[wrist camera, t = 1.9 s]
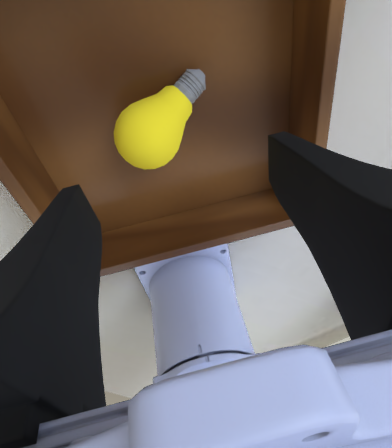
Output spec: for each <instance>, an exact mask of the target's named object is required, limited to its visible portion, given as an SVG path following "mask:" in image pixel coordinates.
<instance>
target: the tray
mask: <svg viewBox="0 0 392 448" xmlns="http://www.w3.org/2000/svg"><path fill="white" fill-rule="evenodd" d="M345 4H346V0H0V180H1V182H2V183H3V184H4V186H5V187H6V188H7V190H8V191H9V192H10V194H11V195H12V196H13V198H14V199H15V200H16V201H17V203H18V204H19V205H20V207H21V208H22V209H23V211H24V212H25V213H26V215H27V216H28V217H29V219H30V220H31V221H32V223H33V224H35V222H36V221H37V220H38V218H39V217H40V216H41V215H42V213H43V212H44V211H45V210H46V208H47V207H48V206H49V204H50V203H51V202H52V201H53V199H54V198H55V197H56V196H57V194H58V193H59V192H60V191H61V190H62V189H63V188H66V187H70V186H74V185H78V184H79V185H80V187H81V189H82V191H83V192H84V194H85V196H86V198H87V200H88V201H89V203H90V205H91V207H92V209H93V211H94V212H95V214H96V216H97V218H98V220H99V221H100V223H101V233H102V259H101V272H100V277H101V276H105V275H108V274H112V273H116V272H120V271H124V270H127V269H131V268H135V267H139V266H143V265H146V264H150V263H154V262H158V261H162V260H165V259H169V258H173V257H177V256H181V255H185V254H188V253H192V252H196V251H200V250H204V249H207V248H211V247H215V246H219V245H223V244H226V243H230V242H234V241H238V240H242V239H245V238H249V237H253V236H257V235H261V234H264V233H268V232H272V231H276V230H280V229H283V228H287V227H291V226H295V225H294V224H293V222H292V221H291V219H290V218H289V216H288V215H287V213H286V212H285V210H284V209H283V207H282V206H281V204H280V203H279V201H278V199H277V197H276V195H275V193H274V191H273V189H272V186H271V184H270V182H269V170H268V135H271V134H275V133H279V132H283V131H285V132H288V133H290V134H293V135H295V136H298V137H300V138H302V139H304V140H307V141H309V142H311V143H313V144H316V145H318V146H320V147H323V148H325V149H326V147H327V140H328V132H329V125H330V117H331V110H332V102H333V95H334V87H335V79H336V72H337V64H338V57H339V49H340V42H341V34H342V27H343V19H344V11H345ZM186 69H200V70H201V71H202V72H203V73H204V74H205V76H206V77H205V84H206V90H204V91H203V92H202V94H200V96H198V99H196V100H195V102H194V103H192V113H191V115H190V116H189V118H188V120H187V121H186V124H185V128H184V132H183V136H182V140H181V143H180V146H179V149H178V151H177V153H176V154H175V156H174V157H173V159H172V160H170V161H169V162H168V163H167V164H166V165H164V166H161V167H159V168H156V169H141V168H138V167H134V166H133V165H131V164H130V163H128V162H127V161H126V160H125V159H124V158H123V157H122V156H121V155H120V154H119V152H118V150H117V148H116V145H115V142H114V128H115V124H116V121H117V119H118V117H119V115H120V114H121V112H122V111H123V110H124V109H125V108H127V107H128V106H129V105H130V104H132V103H134V102H137V101H139V100H141V99H144V98H147V97H149V96H152V95H155V94H157V93H158V92H159V91H161V90H162V89H163V88H164V87H165V86H171V85H173V86H174V84H175V82H176V81H178V79H179V78H180V76H182V74H183V73H185V71H186Z"/></svg>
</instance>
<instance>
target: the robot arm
mask: <svg viewBox="0 0 392 448" xmlns="http://www.w3.org/2000/svg"><path fill="white" fill-rule="evenodd" d="M268 170H269V182H270V184H271V186H272V189H273V191H274V193H275V195H276V197H277V199H278V201H279V203H280V204H281V206H282V207H283V209H284V210H285V212H286V213H287V215H288V216H289V218H290V219H291V221H292V222H293V224H294V225H295V227H296V229H297V230H298V232H299V233H300V235H301V236H302V238H303V239H304V241H305V242H306V244H307V246H308V247H309V249H310V251H311V253H312V255H313V257H314V259H315V261H316V263H317V265H318V267H319V269H320V270H321V273H322V275H323V277H324V279H325V281H326V283H327V285H328V287H329V289H330V292H331V294H332V296H333V298H334V301H335V303H336V305H337V307H338V310H339V312H340V314H341V316H342V319H343V321H344V324H345V326H346V329H347V331H348V333H349V336H350V338H351V340H350V341H347V342H343V343H340V344H336V345H332V346H328V347H324V348H319V347H314V346H309V345H298V346H291V347H284V348H279V349H275V350H272V351H268V352H264V353H257V354H255V352H254V349H253V346H252V343H251V340H250V337H249V334H248V331H247V328H246V325H245V322H244V319H243V316H242V313H241V310H240V307H239V304H238V301H237V298H236V293H235V287H234V281H233V274H232V268H231V262H230V255H229V249H228V244H227V243H226V244H223V245H219V246H215V247H211V248H207V249H204V250H200V251H196V252H192V253H188V254H185V255H181V256H177V257H173V258H169V259H165V260H162V261H158V262H154V263H150V264H146V265H143V266H139V267H135V268H134V269H135V272H136V274H137V276H138V278H139V279H140V281H141V283H142V285H143V287H144V289H145V291H146V293H147V295H148V297H149V299H150V301H151V308H152V319H153V330H154V341H155V352H156V363H157V374H158V376H156V377H154V378H153V384H151V385H149V386H146V387H144V388H143V389H142V390H141V391H140V392H139V393H137V394H136V395H135V396H134V397H133V398H132V399H130V400H127V401H123V402H119V403H116V404H112V405H108V406H106V402H105V394H104V385H103V374H102V363H101V352H100V336H99V314H98V298H99V284H100V272H101V259H102V233H101V223H100V221H99V220H98V218H97V216H96V214H95V212H94V211H93V209H92V207H91V205H90V203H89V201H88V200H87V198H86V196H85V194H84V192H83V191H82V189H81V187H80V185H79V184H78V185H74V186H70V187H66V188H63V189H62V190H61V191H60V192H59V193H58V194H57V196H56V197H55V198H54V199H53V201H52V202H51V203H50V204H49V206H48V207H47V208H46V210H45V211H44V212H43V213H42V215H41V216H40V217H39V218H38V220H37V221H36V222H35V224H34V225H33V226H32V227H31V228H30V229H29V231H28V232H27V233H26V234H25V235H24V236H23V238H22V239H21V240H20V241H19V242H18V243H17V245H16V246H15V247H14V248H13V249H12V250H11V251H10V252H9V253H8V254H7V255H6V256H5V257H4V258H3V259H2V260H1V261H0V448H392V169H387V168H383V167H379V166H375V165H372V164H368V163H364V162H361V161H358V160H355V159H352V158H349V157H346V156H343V155H341V154H338V153H335V152H333V151H330V150H328V149H325V148H323V147H320V146H318V145H316V144H313V143H311V142H309V141H307V140H304V139H302V138H300V137H298V136H295V135H293V134H290V133H288V132H285V131H283V132H279V133H275V134H271V135H268ZM223 249H224V250H223Z"/></svg>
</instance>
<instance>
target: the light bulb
mask: <svg viewBox="0 0 392 448" xmlns="http://www.w3.org/2000/svg"><path fill="white" fill-rule="evenodd" d="M205 77H206V76H205V74H204V73H203V72H202V71H201V70H200V69H186V71H185V73H183V74H182V76H180V78H179V79H178V81H176V82H175V84H174V86H173V85H171V86H165V87H164V88H163V89H162V90H161V91H159V92H158V93H157V94H155V95H152V96H149V97H147V98H144V99H141V100H139V101H137V102H134V103H132V104H130V105H129V106H128V107H127V108H125V109H124V110H123V111H122V112H121V114H120V115H119V117H118V119H117V121H116V124H115V128H114V142H115V145H116V148H117V150H118V152H119V154H120V155H121V156H122V157H123V158H124V159H125V160H126V161H127V162H128V163H130V164H131V165H133V166H134V167H138V168H141V169H156V168H159V167H161V166H164V165H166V164H167V163H168V162H169V161H170V160H172V159H173V157H174V156H175V154H176V153H177V151H178V149H179V146H180V143H181V140H182V136H183V132H184V128H185V124H186V121H187V120H188V118H189V116H190V115H191V113H192V103H194V102H195V100H196V99H198V96H200V94H202V92H203V91H204V90H206V84H205Z"/></svg>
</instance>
